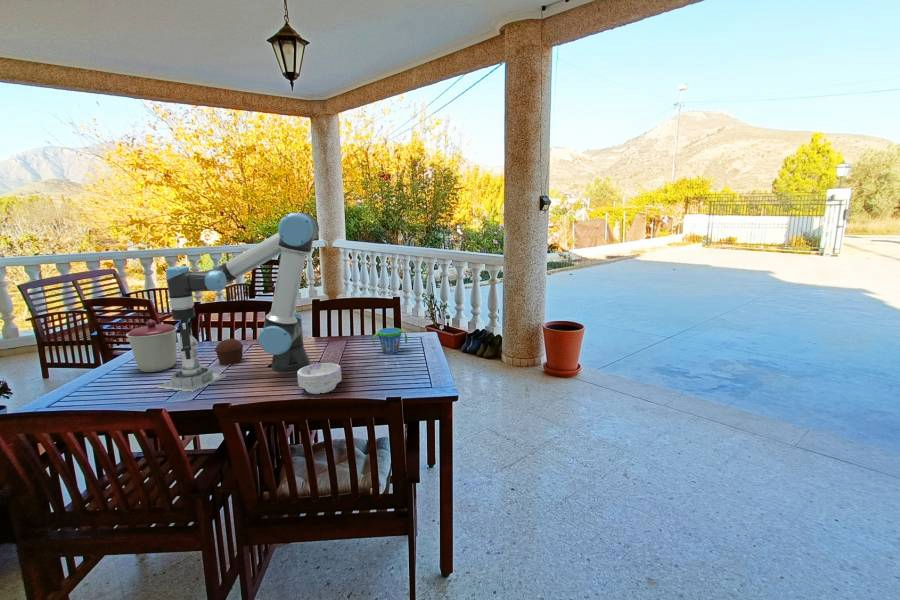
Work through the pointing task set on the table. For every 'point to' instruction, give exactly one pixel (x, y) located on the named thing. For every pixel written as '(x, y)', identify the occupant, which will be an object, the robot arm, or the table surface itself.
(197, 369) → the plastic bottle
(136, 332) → the canister
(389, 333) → the snack cup
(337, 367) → the paper bowls
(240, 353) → the muffin
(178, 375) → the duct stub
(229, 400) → the table surface
